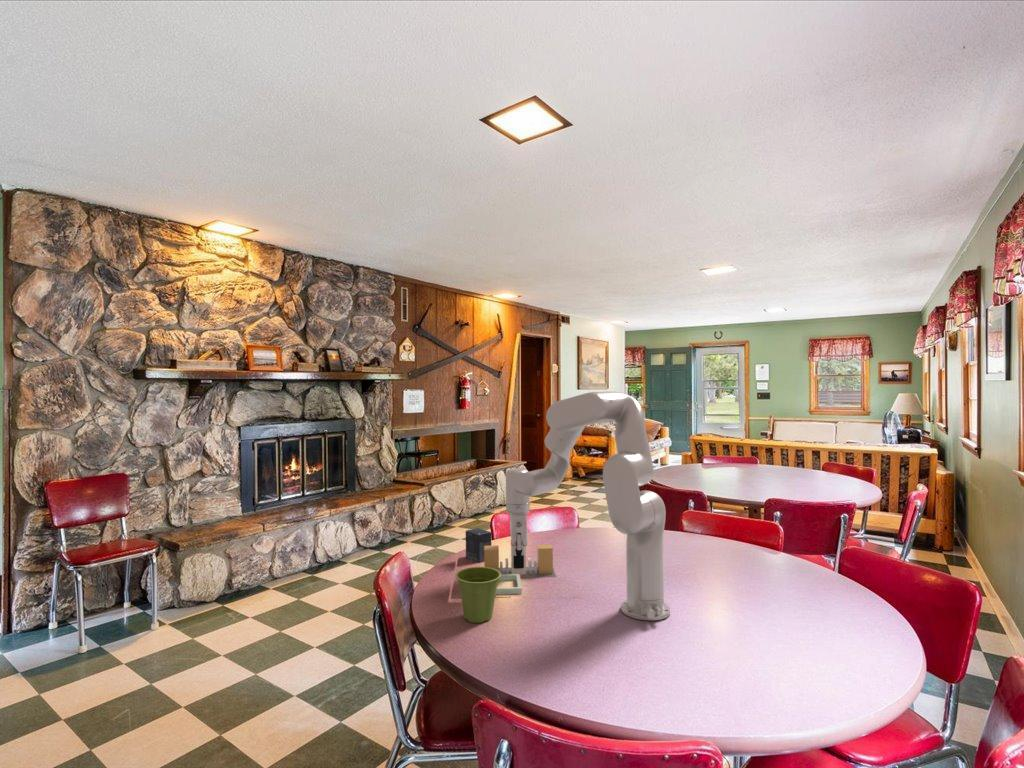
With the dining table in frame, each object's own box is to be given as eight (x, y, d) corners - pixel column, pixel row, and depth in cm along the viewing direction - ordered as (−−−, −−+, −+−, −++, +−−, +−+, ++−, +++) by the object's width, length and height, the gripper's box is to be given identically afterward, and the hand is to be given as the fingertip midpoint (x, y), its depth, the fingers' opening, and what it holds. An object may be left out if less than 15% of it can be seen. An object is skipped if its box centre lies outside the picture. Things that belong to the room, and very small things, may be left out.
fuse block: (556, 580, 165) (556, 550, 165) (482, 581, 164) (481, 552, 164) (552, 569, 175) (552, 541, 175) (482, 571, 174) (482, 543, 174)
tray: (521, 597, 152) (521, 588, 152) (479, 598, 151) (479, 589, 151) (519, 582, 164) (519, 573, 164) (480, 583, 163) (480, 574, 163)
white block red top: (526, 574, 168) (525, 542, 168) (511, 574, 167) (511, 542, 168) (525, 569, 172) (524, 538, 172) (511, 570, 172) (510, 538, 172)
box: (491, 562, 183) (491, 531, 183) (478, 566, 179) (478, 534, 179) (478, 557, 189) (478, 527, 189) (465, 560, 185) (465, 530, 186)
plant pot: (460, 630, 131) (459, 584, 131) (452, 611, 142) (452, 569, 143) (506, 624, 134) (506, 579, 134) (495, 606, 145) (495, 564, 146)
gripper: (531, 513, 162) (532, 574, 161) (527, 502, 179) (528, 557, 178) (506, 514, 161) (507, 574, 161) (505, 502, 178) (505, 557, 178)
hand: (518, 564), depth 170 cm, fingers closed on white block red top, 4 cm apart
